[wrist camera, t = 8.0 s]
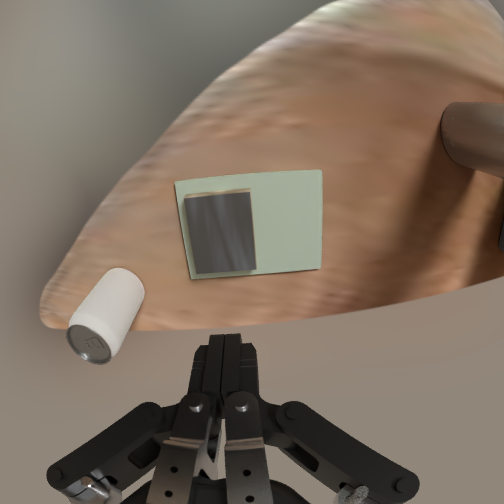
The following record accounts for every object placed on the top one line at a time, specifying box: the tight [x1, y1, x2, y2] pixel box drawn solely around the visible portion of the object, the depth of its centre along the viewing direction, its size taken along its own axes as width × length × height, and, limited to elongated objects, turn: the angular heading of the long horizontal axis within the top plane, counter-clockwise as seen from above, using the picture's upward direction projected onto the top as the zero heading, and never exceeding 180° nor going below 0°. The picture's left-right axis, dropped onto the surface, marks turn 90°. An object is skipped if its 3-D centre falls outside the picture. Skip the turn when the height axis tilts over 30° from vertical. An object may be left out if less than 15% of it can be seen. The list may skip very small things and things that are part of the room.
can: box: [66, 268, 145, 365], centre depth 29 cm, size 6×6×12 cm
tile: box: [183, 188, 257, 274], centre depth 30 cm, size 2×9×7 cm
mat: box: [175, 170, 322, 279], centre depth 31 cm, size 16×12×1 cm
